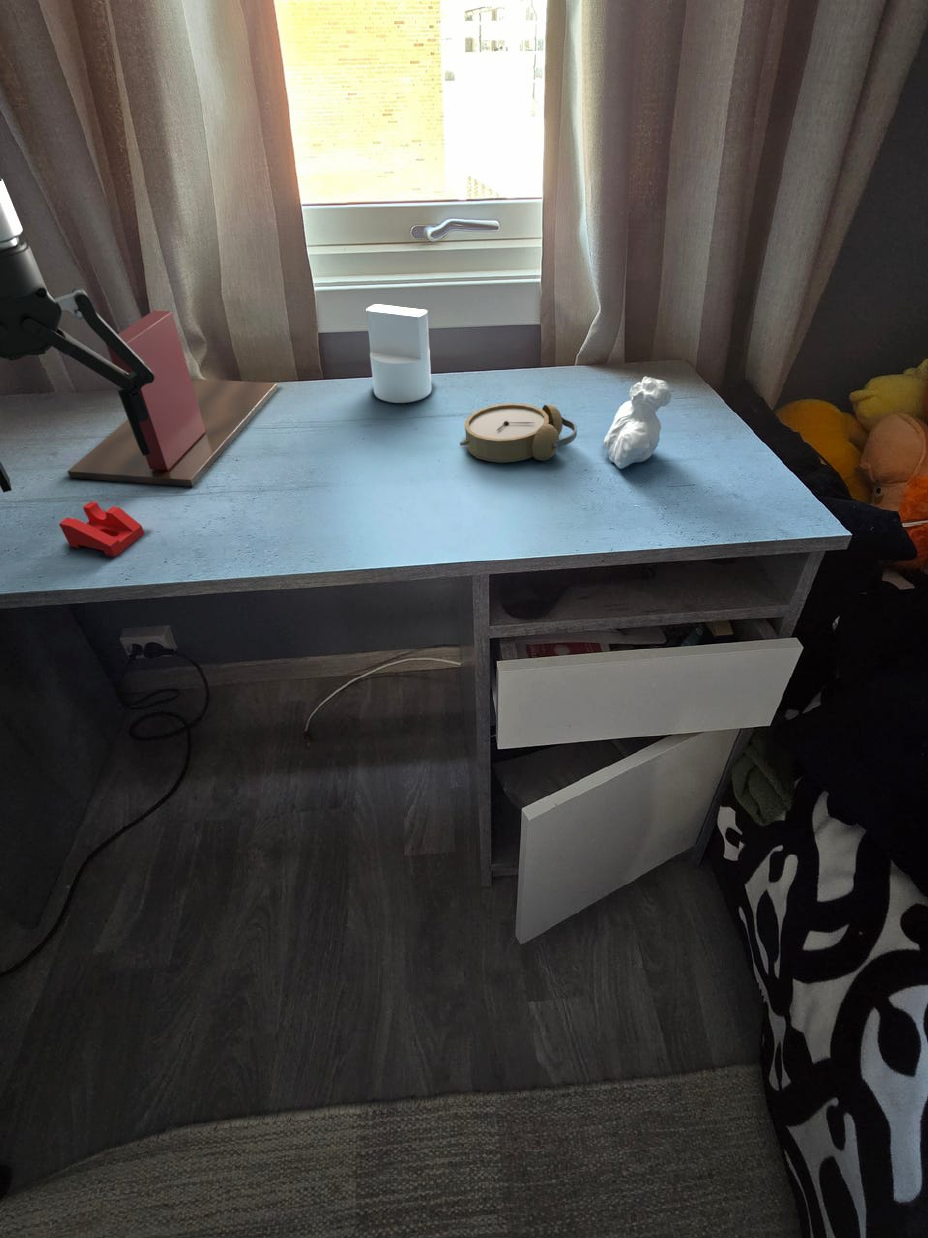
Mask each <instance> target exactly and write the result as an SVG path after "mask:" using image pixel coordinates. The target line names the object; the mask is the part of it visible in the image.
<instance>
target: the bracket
mask: <svg viewBox="0 0 928 1238" xmlns="http://www.w3.org/2000/svg"><path fill="white" fill-rule="evenodd" d="M82 509H83V511H84V514H85V516H86V518H87V520H88V521H87V522H84V521H83V520H80V519H77V518H73V517H69V516H68V517H66V518H65V519H63V520H61V521H60V522H59V523H58V525H59V527H60V529H61V531H62V533H63V535H64V537H65V539H66V541H67V543H68V546H70V547H73V548H77V549H80V548H81V547H83V546H84V547H87V548H91V549H96V550H100V551H103V553H104V555H106V556H110V557H114V558H115V557H118V555H120V554H121V553H122V552H123V551H124V550H126V549H127V548H128V547H130V546H131V545H132V544H133V543H134V542H136V541H137V540H138V539H139V538H141V537H142V536H143V535H144V534H145V531H144V528H143V526H142V525H141V523H139V522H138V521H137V520H135V519H134V517H132V516H131V515H130V514H128V513H127V512H126V511H124V510H123V509H122V508H121V507H119V506H114V505H113V506H111V507H110V508H108V509H107V510H103V509H102V507H100V505H99V503H98V502H96V501H92V500H91V501H89V502H87V503H86V504H85V505H83V506H82Z"/></svg>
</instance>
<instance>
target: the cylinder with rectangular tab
mask: <svg viewBox="0 0 928 1238" xmlns="http://www.w3.org/2000/svg"><path fill="white" fill-rule="evenodd" d="M365 313H366V322H367V332H368V340H369V341H368V342H369V351H370V352H369V357H370V359H369V360H370V367H371V376H372V377H371V378H372V386H373V393H374V396H375V397H376V398H378V399H379V400H380V401H384V402H388V403H394V404H405V403H406V404H407V403H413V402H417V401H420V400H423V399H425V398H427V397H428V396H429V395H430V394H431V393H432V372H431V371H432V370H431V369H432V368H431V352H430V351H431V350H430V335H429V334H430V333H429V317H428V309H419V308H411V307H402V306H397V305H396V306H394V305H387V304H377V303H374V304H372V305H371V306H369V307H367V308H366V310H365Z"/></svg>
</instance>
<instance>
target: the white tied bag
mask: <svg viewBox="0 0 928 1238" xmlns="http://www.w3.org/2000/svg"><path fill="white" fill-rule="evenodd" d="M671 399H672V392H671V388H670V386H669V384H668V382H666V381H665V380H662V379H656V378H653V377H652V376H650V377H648V376H643V378H642V380H641V382H640V381H638V382H636V384H634V385H631V387H630V389H629V400H627V401H626V402H624V403H623V404H622V405H621V406H620V407H619V408H618V410H617V412H616V413H615V416H614V418H613V422H612V424H611V426H610V427H609V429H608V432H607V433H606V435H605V437H604V439H603V444H604V449H605V451H606V454H607V455H608V457H609V461H610V462H611V463H614V464H615V466H616V467H617V468H618V469H621V470H622V469H624V468H627V467H628V466H630V465H631V464H634V463H641V462H645V461H647V460H649V458H650V457H651V456H652V455H653V453H654V451H655V450H656V449H657V447H658V445H659V442H660V434H661V429H662V424H661V421H660V419H659V418H658V416H657V413H656V412H657V411H658V410H659V409H661V407H666V406H667V405H669V404H670V402H671V401H672V400H671Z"/></svg>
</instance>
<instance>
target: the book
mask: <svg viewBox="0 0 928 1238" xmlns="http://www.w3.org/2000/svg"><path fill="white" fill-rule="evenodd" d="M117 335H118V336H119V337H120V338H121V339H122V340H123V341H124V342H125V343H126V344H127V345H128V346H129V347H130V348H131V349H132V350H133V351H134V352H135V353H136V354H137V355H138V356H139V357H140V358H141V359H142V361H143V362H144V363H145V364H146V365H147V366H148V367H149V368H150V370H151V371H152V373H153V375H154V377H155V379H154V381H153V382H152V383H147V384H146V385H144V386H143V387H142V388H141V390H140V393H141V396H142V399H143V402H144V405H145V408H146V410H147V413H148V420H146V421H142V422H139V424H140V427H141V430H142V432H143V435H144V438H145V441H146V443H147V446H148V449H149V452H150V454H148V455H145V456H146V459H147V462H148V465H149V468H150V469H154V470H167V471H168V470H169V469H170V468H171V467H172V466H173V465H174V464H175V463H176V462H177V461H178V460H179V458H180V457H181V456H182V455H183V454H184V453H185V452H186V451H187V450H188V449H189V448H190V447H191V446H192V445H193V444H194V443H195V442H196V441H197V440H198V439H199V437H200V436H201V435H202V434H203V433H204V432H205V428H204V424H203V421H202V417H201V414H200V410H199V407H198V403H197V399H196V396H195V392H194V389H193V385H192V381H191V379H192V377H191V373H190V371H189V368H188V363H187V361H186V358H185V357H186V356H185V353H184V349H183V346H182V343H181V338H180V335H179V331H178V329H177V324H176V321H175V317H174V314H173V311H169V310H167V311H166V310H152V311H150V312H149V313H147V314H146V315H145V316H143V317H142V318H140V319H139V320H137V321H136V322H134V323H133V324H132V325H130V326H129V327H127V328H126V329H124V330H123V331H120V333H117ZM105 345H106V348H107V351H108V354H109V356H110V359H111V363H113V364H114V365H116V366H117V367H119V368H121V369H122V370H124V371H125V372H127V373H128V374H130V373H131V372H133V370H132V369H131V368H130V367H129V366H128V365H127V364H126V363H125V362H124V361H123V360H122V359H121V358H120V357H119V356H118V355H117V354H116V353H115V352H114V351H113V350H112V349H111V348H110V347H109V346H108V345H107V344H106V343H105Z"/></svg>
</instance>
